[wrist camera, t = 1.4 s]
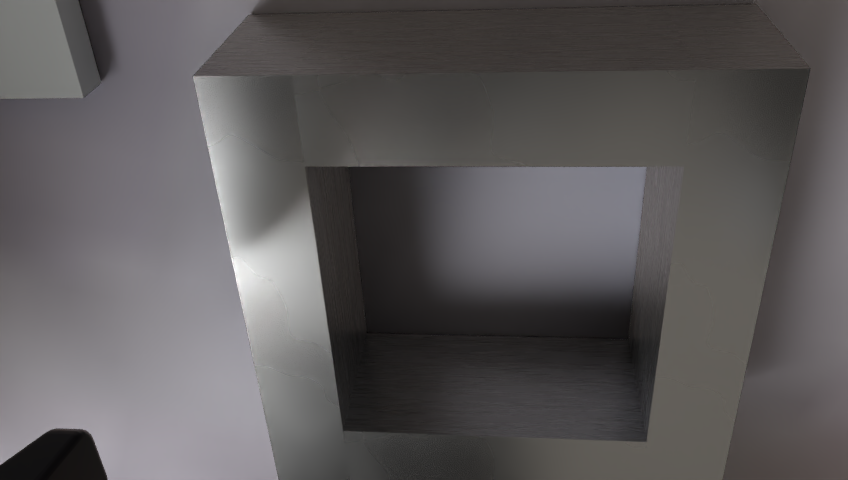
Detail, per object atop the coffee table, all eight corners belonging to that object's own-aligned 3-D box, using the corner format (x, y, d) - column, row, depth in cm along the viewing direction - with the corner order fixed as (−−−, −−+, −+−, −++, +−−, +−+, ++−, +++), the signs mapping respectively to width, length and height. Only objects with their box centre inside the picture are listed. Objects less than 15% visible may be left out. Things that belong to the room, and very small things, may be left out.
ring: (690, 392, 15) (718, 500, 13) (309, 381, 15) (278, 480, 13) (756, 4, 11) (810, 68, 9) (248, 14, 12) (192, 76, 10)
